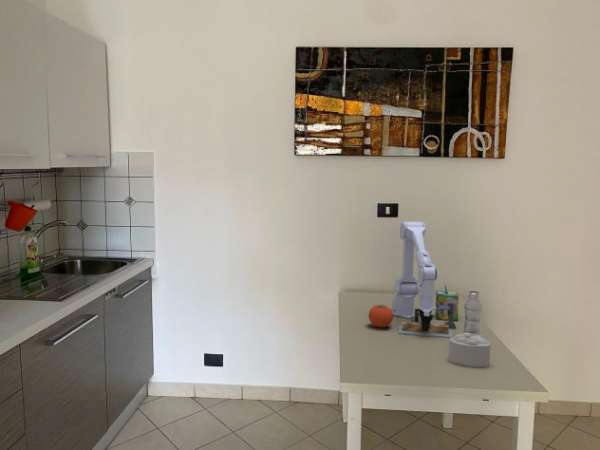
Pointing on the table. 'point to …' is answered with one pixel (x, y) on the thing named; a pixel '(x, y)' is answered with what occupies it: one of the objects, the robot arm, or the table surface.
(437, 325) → the wavy strip
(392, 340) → the table surface
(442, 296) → the chalk box
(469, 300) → the plastic bottle
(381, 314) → the tomato
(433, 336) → the mat
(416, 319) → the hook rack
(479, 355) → the lumpy-topped squat cylinder
